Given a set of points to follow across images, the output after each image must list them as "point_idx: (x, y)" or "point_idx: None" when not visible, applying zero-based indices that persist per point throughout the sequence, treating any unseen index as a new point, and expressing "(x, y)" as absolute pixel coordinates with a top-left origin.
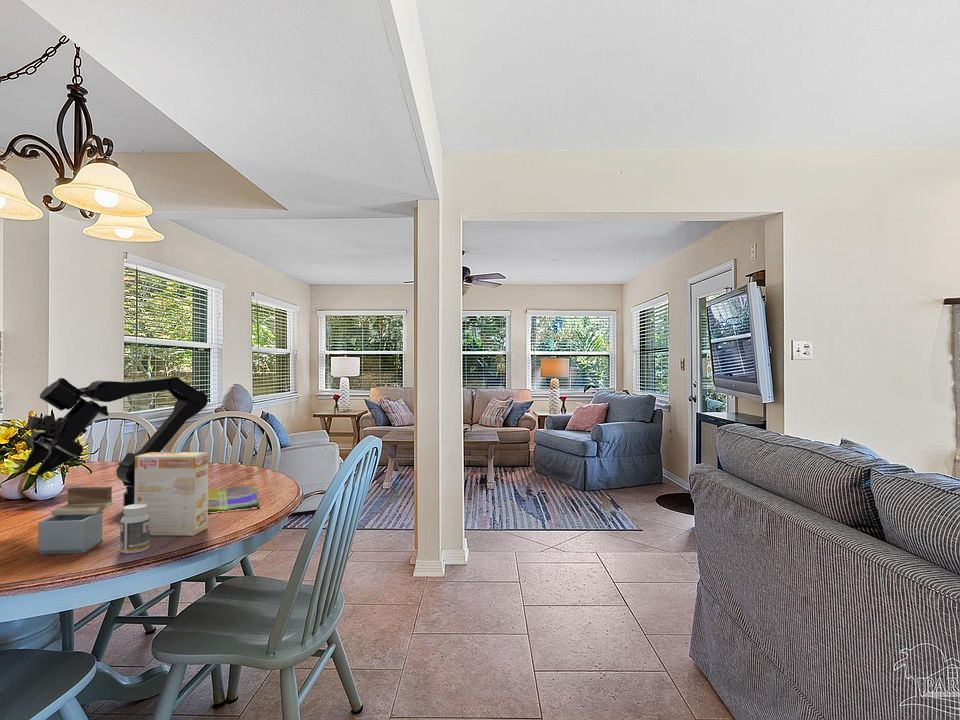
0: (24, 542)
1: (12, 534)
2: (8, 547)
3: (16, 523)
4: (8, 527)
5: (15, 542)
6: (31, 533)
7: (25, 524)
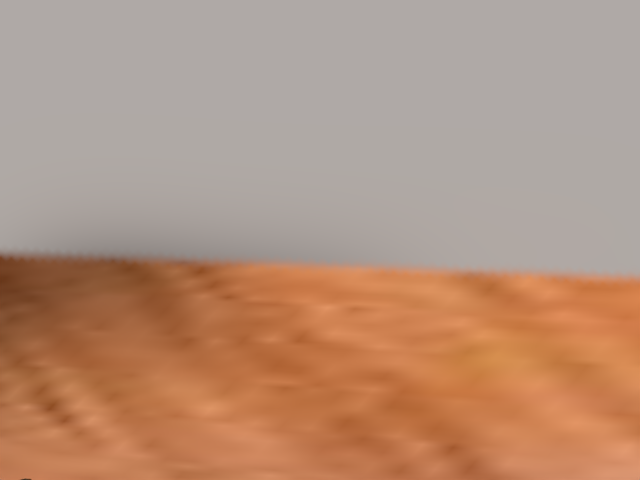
0: (67, 329)
1: (313, 284)
2: (22, 254)
3: (617, 319)
4: (526, 273)
5: (104, 289)
6: (258, 377)
7: (546, 365)
